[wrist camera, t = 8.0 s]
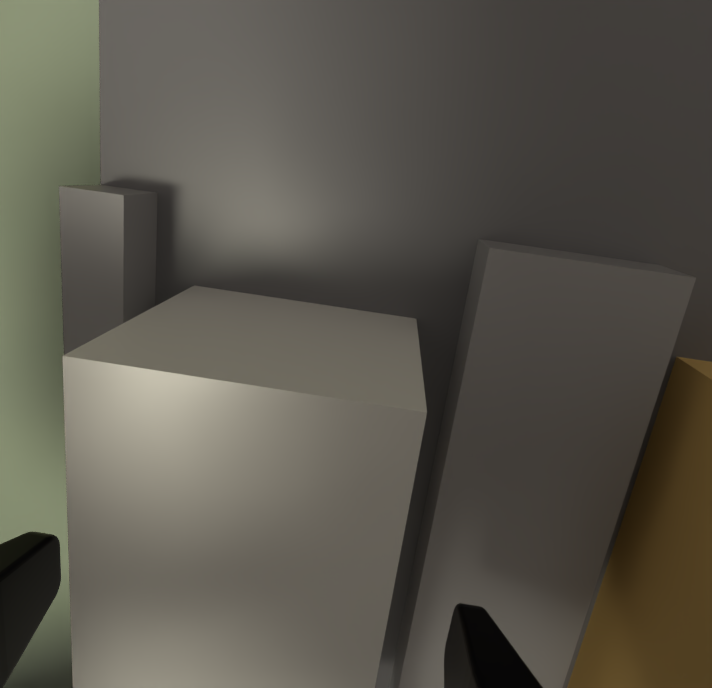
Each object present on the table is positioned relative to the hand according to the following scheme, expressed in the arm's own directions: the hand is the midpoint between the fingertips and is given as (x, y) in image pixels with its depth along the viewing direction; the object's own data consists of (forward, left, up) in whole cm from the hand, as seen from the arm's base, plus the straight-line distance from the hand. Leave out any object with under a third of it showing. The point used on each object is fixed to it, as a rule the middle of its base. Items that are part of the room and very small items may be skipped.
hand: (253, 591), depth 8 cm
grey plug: (0, 0, -3) cm, 3 cm away
